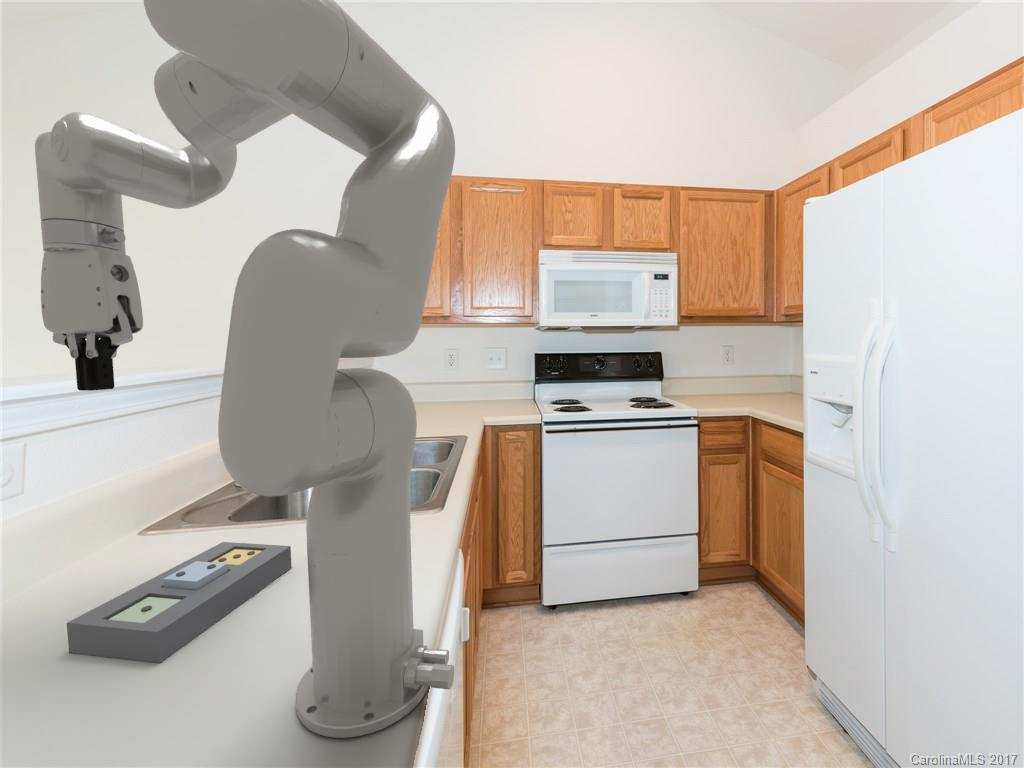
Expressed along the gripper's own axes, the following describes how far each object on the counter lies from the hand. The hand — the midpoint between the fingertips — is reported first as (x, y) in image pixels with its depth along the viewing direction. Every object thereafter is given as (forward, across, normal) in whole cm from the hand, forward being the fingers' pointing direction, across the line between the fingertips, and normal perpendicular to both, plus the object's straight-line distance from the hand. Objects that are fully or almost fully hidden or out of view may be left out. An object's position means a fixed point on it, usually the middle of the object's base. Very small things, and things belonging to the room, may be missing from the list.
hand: (96, 389), depth 57 cm
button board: (+29, -10, -3) cm, 31 cm away
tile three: (+28, -10, -10) cm, 31 cm away
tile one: (+28, -10, +4) cm, 30 cm away
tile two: (+27, -10, -3) cm, 29 cm away
